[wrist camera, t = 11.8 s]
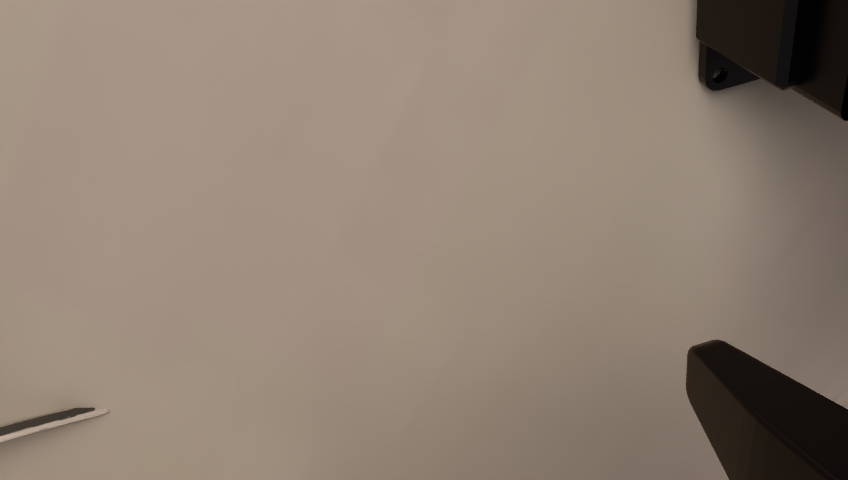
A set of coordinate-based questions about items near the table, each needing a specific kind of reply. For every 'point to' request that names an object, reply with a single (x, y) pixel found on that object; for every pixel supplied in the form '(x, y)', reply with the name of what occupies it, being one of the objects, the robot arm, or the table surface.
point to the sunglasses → (47, 422)
